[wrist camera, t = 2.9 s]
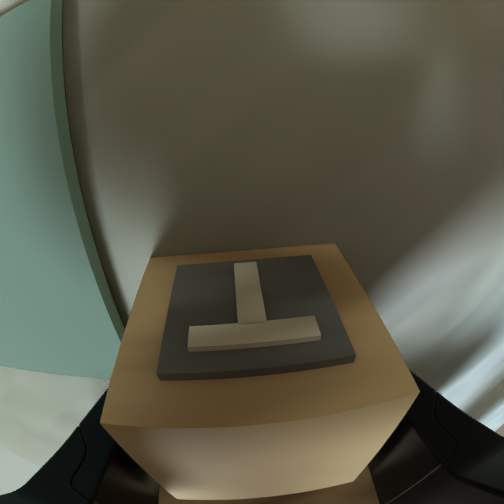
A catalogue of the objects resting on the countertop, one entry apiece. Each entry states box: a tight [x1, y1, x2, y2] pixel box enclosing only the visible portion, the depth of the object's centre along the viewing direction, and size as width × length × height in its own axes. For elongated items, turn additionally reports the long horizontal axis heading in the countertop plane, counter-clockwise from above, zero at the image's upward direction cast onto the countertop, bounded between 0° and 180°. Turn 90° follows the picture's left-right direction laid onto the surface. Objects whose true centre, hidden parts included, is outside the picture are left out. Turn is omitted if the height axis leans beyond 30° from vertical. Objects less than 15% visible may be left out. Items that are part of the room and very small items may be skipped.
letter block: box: [100, 243, 420, 500], centre depth 7 cm, size 5×5×5 cm
